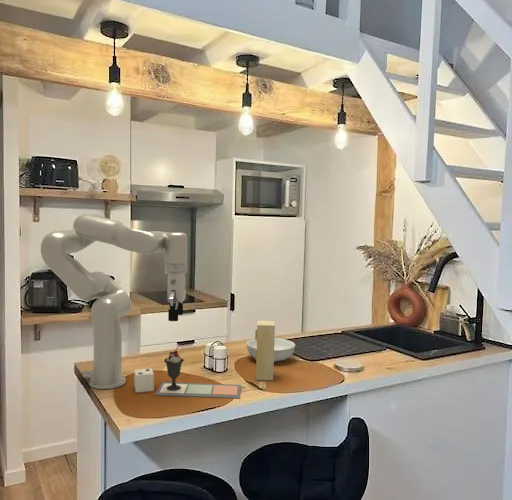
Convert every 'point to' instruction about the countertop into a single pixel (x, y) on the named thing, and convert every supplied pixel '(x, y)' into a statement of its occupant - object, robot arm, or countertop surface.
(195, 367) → the countertop surface
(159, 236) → the robot arm
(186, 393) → the game board
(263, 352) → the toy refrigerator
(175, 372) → the sundae
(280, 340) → the serving bowl
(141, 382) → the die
